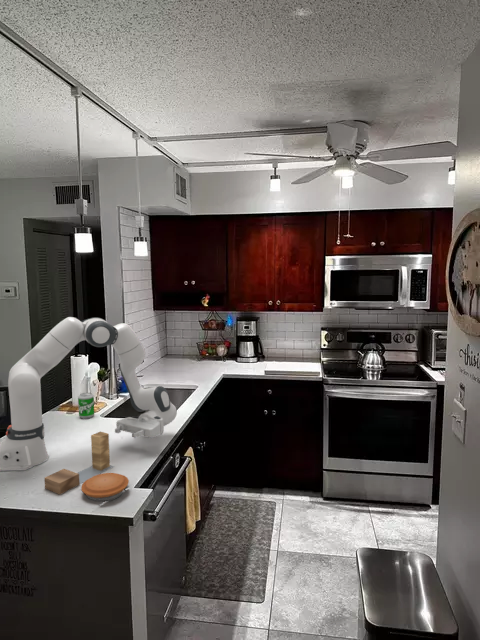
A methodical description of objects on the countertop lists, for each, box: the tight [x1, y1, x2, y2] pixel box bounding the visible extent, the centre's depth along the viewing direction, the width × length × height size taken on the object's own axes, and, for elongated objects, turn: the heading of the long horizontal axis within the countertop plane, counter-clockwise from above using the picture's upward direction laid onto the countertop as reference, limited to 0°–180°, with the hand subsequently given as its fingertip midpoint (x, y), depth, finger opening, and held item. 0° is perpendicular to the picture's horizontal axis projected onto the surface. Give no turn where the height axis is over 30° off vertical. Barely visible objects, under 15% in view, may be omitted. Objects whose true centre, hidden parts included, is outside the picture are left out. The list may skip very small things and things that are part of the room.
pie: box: [80, 472, 130, 503], centre depth 153 cm, size 15×16×5 cm
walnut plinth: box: [43, 468, 81, 495], centre depth 156 cm, size 8×8×4 cm
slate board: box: [61, 464, 116, 495], centre depth 163 cm, size 24×8×1 cm, turn 149°
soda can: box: [77, 392, 95, 420], centre depth 229 cm, size 8×8×12 cm
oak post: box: [90, 431, 111, 471], centre depth 170 cm, size 4×4×13 cm
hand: (124, 433), depth 180 cm, fingers open, 8 cm apart
